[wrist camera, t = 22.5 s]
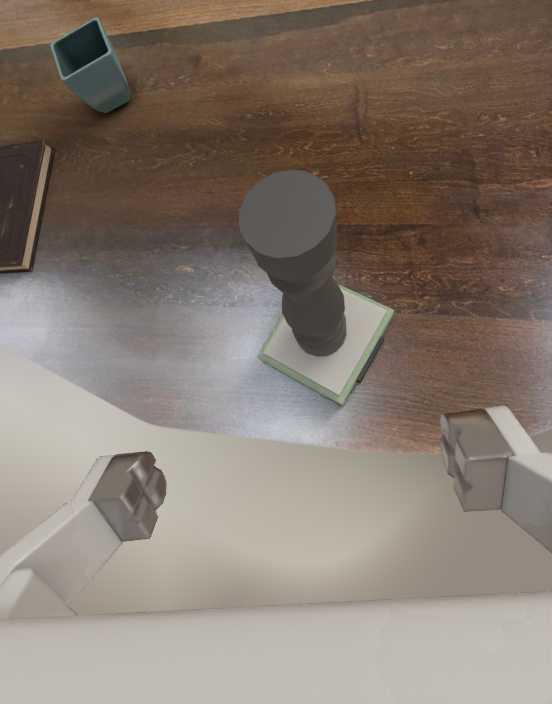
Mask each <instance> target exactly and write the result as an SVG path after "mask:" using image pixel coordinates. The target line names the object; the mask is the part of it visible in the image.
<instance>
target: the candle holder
mask: <svg viewBox="0 0 552 704" xmlns="http://www.w3.org/2000/svg"><path fill="white" fill-rule="evenodd" d="M239 228H240V230H241V232H242V234H243V236H244V239H245V241H246V243H247V245H248V246H249V248H250V250H251V252H252V254H253V256H254V258H255V259H256V261H257V263H258V265H259V267H261V268H262V269H263V270H264V271H265V272H267V274H268V276H269V278H270V281H271V283H272V284H273V285H274V286H275V287H277V288H278V289H279V290H280V291H281V292H283V297H282V313H283V316H284V318H285V320H286V322H287V324H288V325H289V326H290V327H291V328H292V332H293V334H294V336H295V339H296V341H297V342H298V344H299V346H300V347H301V348H302V349H303V350H304V351H305V352H306V353H307V354H310V355H313V356H316V357H320V356H328V355H330V354H333V353H335V352H337V351H338V349H339V348H340V347H341V346H342V345H343V344H344V341H345V338H346V335H347V331H346V316H345V315H344V311H345V303H344V295H343V293H342V291H341V289H340V287H339V285H338V284H337V283H336V282H335V281H334V280H333V278H332V275H333V272H334V269H335V267H336V257H335V248H336V246H337V243H338V242H337V227H336V214H335V200H334V196H333V195H332V193H331V191H330V189H329V188H328V186H327V184H326V183H325V182H324V181H322V180H321V179H319V178H318V177H316V176H315V175H313V174H312V173H308V172H303V171H298V170H289V171H282V172H276V173H274V174H272V175H270V176H268V177H266V178H264V179H262V180H260V181H259V182H258V183H257V184H256V185H255V186H254V187H253V188H252V189H251V190H250V191H249V192H248V193H247V194H246V196H245V199H244V201H243V203H242V206H241V208H240V210H239Z"/></svg>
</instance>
